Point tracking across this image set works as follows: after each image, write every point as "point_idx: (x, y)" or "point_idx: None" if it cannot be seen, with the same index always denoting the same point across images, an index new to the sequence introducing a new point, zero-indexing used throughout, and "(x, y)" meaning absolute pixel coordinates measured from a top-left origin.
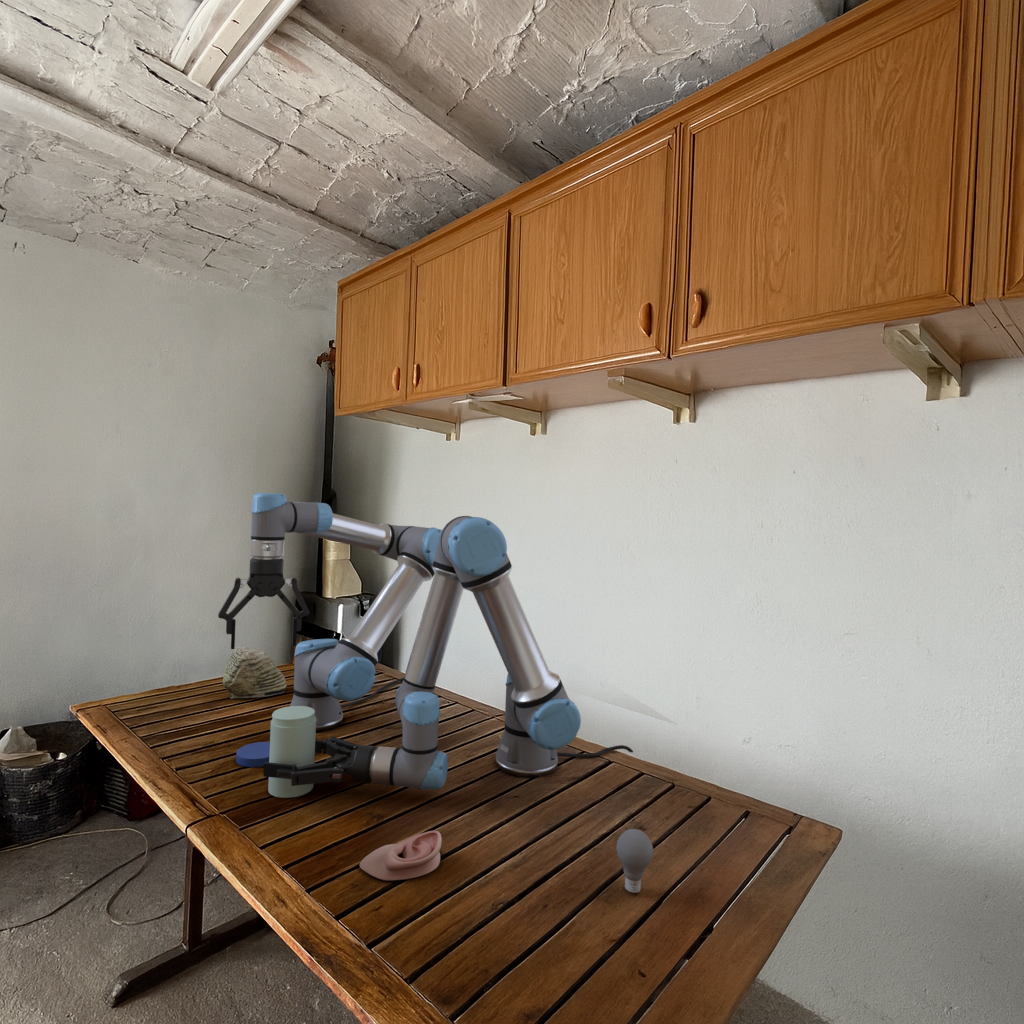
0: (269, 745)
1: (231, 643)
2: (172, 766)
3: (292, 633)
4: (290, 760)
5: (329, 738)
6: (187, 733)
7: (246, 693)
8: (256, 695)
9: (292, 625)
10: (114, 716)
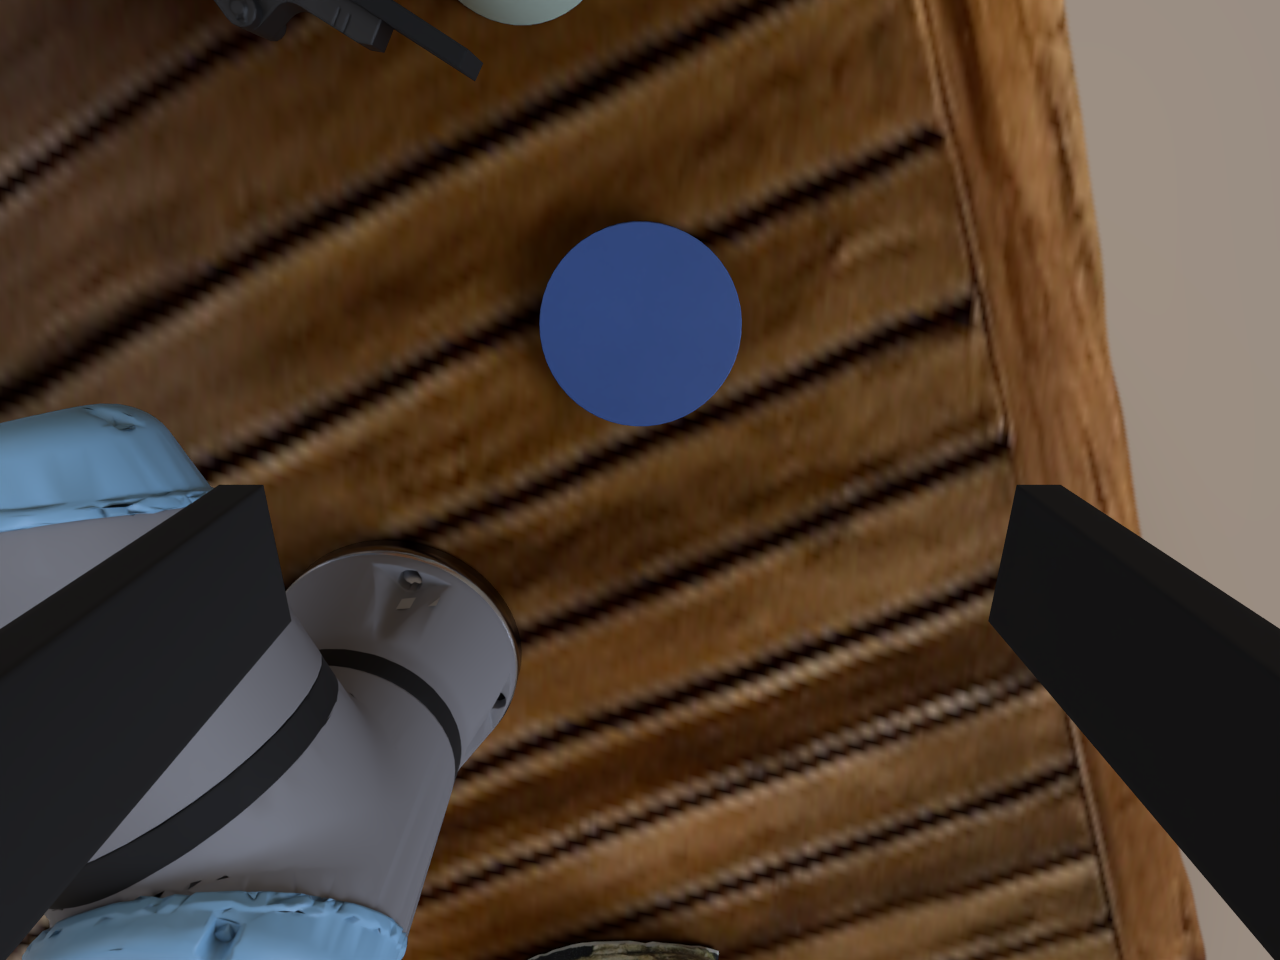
0: (596, 372)
1: (1105, 518)
2: (981, 348)
3: (189, 656)
4: None
5: (256, 8)
6: (893, 667)
7: (661, 957)
8: (623, 948)
9: (114, 793)
10: (1111, 883)
